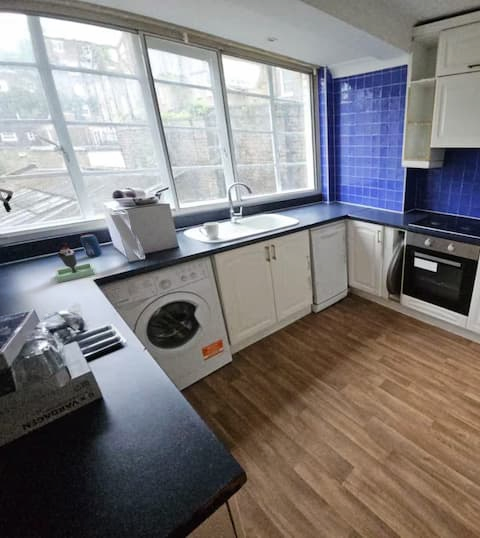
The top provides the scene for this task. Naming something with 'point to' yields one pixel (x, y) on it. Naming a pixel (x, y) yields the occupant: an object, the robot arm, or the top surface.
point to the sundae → (68, 258)
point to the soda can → (91, 245)
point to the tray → (65, 273)
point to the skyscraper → (128, 236)
